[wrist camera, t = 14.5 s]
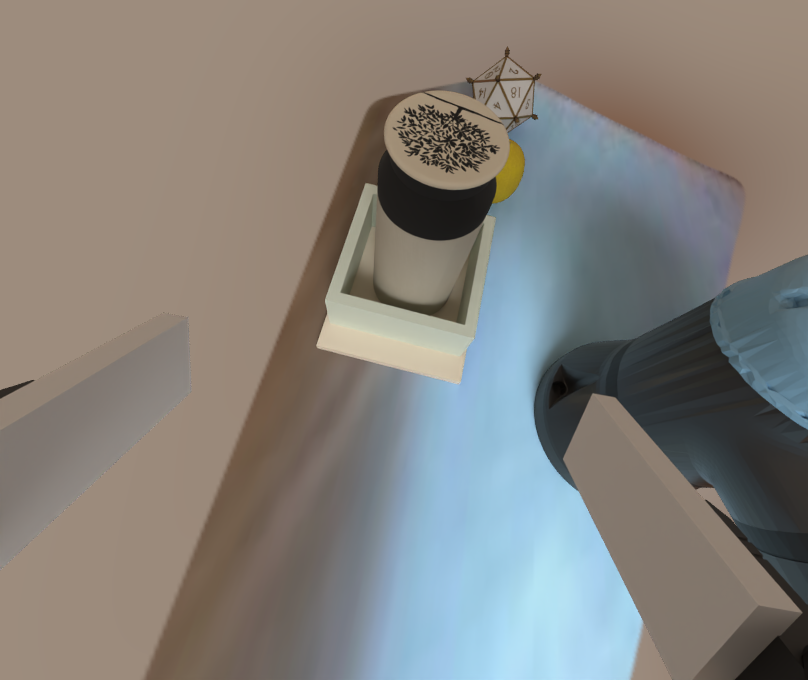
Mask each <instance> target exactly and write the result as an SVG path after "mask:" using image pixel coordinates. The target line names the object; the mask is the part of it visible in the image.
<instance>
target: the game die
mask: <svg viewBox="0 0 808 680" xmlns="http://www.w3.org/2000/svg"><path fill="white" fill-rule="evenodd" d="M509 51H510V50H509V48H508V47H507V48H506V50H505V57H504V58H503V59H502V60H500V61H499V62H498V63H496V64H495V65H494V66H492V67H491V68H490V69H488V70H487V71H486V72H484V73H483V74H482V75H480V76H479V77H478V78H476V79H475V80H472V79H471V78H466V79H467V81H468V82H469V83H472V88H473V99H476V100H477V101H479V102H481V103H483V104H484V105H486V106H487V107H488V108H489V109H491V110H492V111H493V112H494V113H495V114H496V115H497V116H498V118H499V119H500V120H501V122H502V123H503V125H504V127H505V128H506V131H507V133H508V132H510V131H511V130H513V129H514V128H516V127H517V126H518V125H520V124H521V123H523V122H524V121H526V120H527V119H529V118H530V117H532V119H534V120H535V119H538V117H537V115H535V114H533V102H534V85H535V80H538V79H539V78H540V76H541V74H537V75H535V77H533V76H532V75H530V74H529V73H528V72H527V71H525V70H524V69H523V68H522V67H521V66H519V65H518V64H517V63H516V62H514V61H513V60H512V59H511V58H509V57H508V55H509Z"/></svg>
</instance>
